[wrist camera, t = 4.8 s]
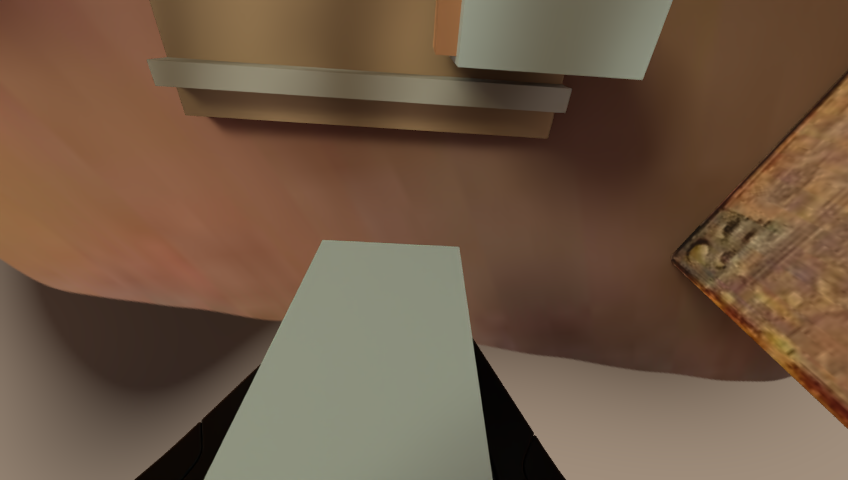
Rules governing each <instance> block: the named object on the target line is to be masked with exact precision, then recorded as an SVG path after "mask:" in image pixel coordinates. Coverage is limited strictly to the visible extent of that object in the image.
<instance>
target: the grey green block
mask: <svg viewBox="0 0 848 480" xmlns="http://www.w3.org/2000/svg"><path fill="white" fill-rule="evenodd" d="M204 480H493V479H492V472H491V465H490V458H489V451H488V444H487V437H486V430H485V423H484V416H483V409H482V402H481V395H480V388H479V381H478V374H477V367H476V361H475V354H474V347H473V340H472V333H471V326H470V319H469V312H468V305H467V298H466V291H465V284H464V277H463V270H462V263H461V256H460V249H459V247H450V246H431V245H412V244H392V243H373V242H354V241H334V240H322V242H321V244H320V246H319V248H318V250H317V252H316V254H315V256H314V259H313V261H312V263H311V265H310V267H309V269H308V271H307V273H306V275H305V277H304V279H303V281H302V283H301V285H300V287H299V289H298V291H297V293H296V295H295V297H294V299H293V301H292V303H291V305H290V307H289V309H288V311H287V313H286V315H285V317H284V319H283V321H282V323H281V325H280V327H279V329H278V331H277V333H276V335H275V337H274V339H273V341H272V343H271V345H270V347H269V349H268V351H267V353H266V355H265V357H264V359H263V361H262V363H261V365H260V367H259V369H258V371H257V373H256V375H255V378H254V380H253V382H252V384H251V386H250V388H249V390H248V392H247V394H246V396H245V398H244V400H243V402H242V404H241V406H240V408H239V410H238V412H237V414H236V416H235V418H234V420H233V422H232V424H231V426H230V428H229V430H228V432H227V434H226V436H225V438H224V440H223V442H222V444H221V446H220V448H219V450H218V452H217V454H216V456H215V458H214V460H213V462H212V464H211V466H210V468H209V470H208V472H207V474H206V476H205V478H204Z"/></svg>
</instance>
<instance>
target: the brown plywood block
mask: <svg viewBox="0 0 848 480" xmlns="http://www.w3.org/2000/svg"><path fill="white" fill-rule="evenodd" d="M671 261H672V263H673V264H674V265H675V266H676V267H677V268H678V269H679V270H680V271H681V272H682V273H683V274H684V275H685V276H686V277H687V278H688V279H690V280H691V281H692V282H693V283H694V284H695V285H696V286H697V287H698V288H699V289H700V290H701V291H702V292H703V293H704V294H705V295H706V296H708V297H709V298H710V299H711V300H712V301H713V302H714V303H715V304H716V305H717V306H718V307H719V308H720V309H721V310H722V311H723V312H724V313H726V314H727V315H728V316H729V317H730V318H731V319H732V320H733V321H734V322H735V323H736V324H737V325H738V326H739V327H740V328H741V329H743V330H744V331H745V332H746V333H747V334H748V335H749V336H750V337H751V338H752V339H753V340H754V341H755V342H756V343H757V344H758V345H759V346H761V347H762V348H763V349H764V350H765V351H766V352H767V353H768V354H769V355H770V356H771V357H772V358H773V359H774V360H775V361H776V362H777V363H779V364H780V365H781V366H782V367H783V368H784V369H785V370H786V371H787V372H788V373H789V374H790V375H791V376H792V377H793V378H794V379H796V380H797V381H798V382H799V383H800V384H801V385H802V386H803V387H804V388H805V389H806V390H807V391H808V392H809V393H810V394H811V395H812V396H814V397H815V398H816V399H817V400H818V401H819V402H820V403H821V404H822V405H823V406H824V407H825V408H826V409H827V410H828V411H829V412H831V413H832V414H833V415H834V416H835V417H836V418H837V419H838V420H839V421H840V422H841V423H842V424H843V425H844V426H845V427H846V428H848V71H847V72H846V73H845V74H844V75H843V76H842V77H841V78H840V79H839V80H838V81H837V82H836V83H835V84H834V85H833V86H832V87H831V88H830V89H829V90H828V92H827V93H826V94H825V95H824V96H823V97H822V98H821V99H820V100H819V101H818V102H817V103H816V104H815V105H814V106H813V107H812V108H811V109H810V110H809V111H808V112H807V114H806V115H805V116H804V117H803V118H802V119H801V120H800V121H799V122H798V123H797V124H796V125H795V126H794V127H793V128H792V129H791V130H790V131H789V132H788V133H787V135H786V136H785V137H784V138H783V139H782V140H781V141H780V142H779V143H778V144H777V145H776V146H775V147H774V148H773V149H772V150H771V151H770V152H769V153H768V154H767V155H766V157H765V158H764V159H763V160H762V161H761V162H760V163H759V164H758V165H757V166H756V167H755V168H754V169H753V170H752V171H751V172H750V173H749V174H748V175H747V176H746V177H745V179H744V180H743V181H742V182H741V183H740V184H739V185H738V186H737V187H736V188H735V189H734V190H733V191H732V192H731V193H730V194H729V195H728V196H727V197H726V198H725V200H724V201H723V202H722V203H721V204H720V205H719V206H718V207H717V208H716V209H715V210H714V211H713V212H712V213H711V214H710V215H709V216H708V217H707V218H706V219H705V220H704V222H703V223H702V224H701V225H700V226H699V227H698V228H697V229H696V230H695V231H694V232H693V233H692V234H691V235H690V236H689V237H688V238H687V239H686V240H685V242H684V243H683V244H682V245H681V246H680V247H679V248H678V249H677V250H676V251H675V252H674V253H673V254H672V255H671Z"/></svg>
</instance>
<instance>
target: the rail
mask: <svg viewBox="0 0 848 480" xmlns="http://www.w3.org/2000/svg"><path fill="white" fill-rule="evenodd" d="M149 1H150V4H151V7H152V10H153V13H154V17H155V20H156V23H157V26H158V29H159V33H160V36H161V39H162V42H163V45H164V49H165V52H166V55H167V57H165V58H157V59H148V60H147V62H148V65H149V68H150V71H151V74H152V77H153V80H154V83H155V86H167V87H177V90H178V93H179V97H180V100H181V103H182V106H183V109H184V113H185V115H190V116H206V117H221V118H237V119H252V120H268V121H283V122H299V123H314V124H329V125H345V126H360V127H376V128H391V129H407V130H422V131H438V132H453V133H469V134H484V135H500V136H515V137H531V138H546V139H548V136H549V132H550V128H551V124H552V121H553V117H554V113H555V112H557V113H566V109H567V106H568V102H569V98H570V95H571V91H572V88H569V87H567V86H564V85H562V82H563V78H564V74H565V75H579V76H594V77H608V78H623V79H637V80H643V77H644V75H645V72H646V69H647V67H648V64H649V62H650V59H651V56H652V54H653V51H654V48H655V46H656V43H657V40H658V38H659V35H660V32H661V30H662V27H663V24H664V22H665V19H666V16H667V14H668V11H669V9H670V6H671V3H672V1H673V0H149Z"/></svg>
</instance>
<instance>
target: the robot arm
mask: <svg viewBox="0 0 848 480" xmlns="http://www.w3.org/2000/svg"><path fill="white" fill-rule="evenodd" d="M472 340H473V347H474V354H475V361H476V367H477V374H478V381H479V388H480V395H481V402H482V409H483V416H484V423H485V430H486V437H487V444H488V451H489V458H490V465H491V472H492V479H493V480H566V479H565V478H564V477H563V475H562V474H561V473H560V471H559V470H558V468H557V467H556V465H555V464H554V462H553V461H552V460H551V458H550V457H549V455H548V454H547V452H546V451H545V449H544V448H543V446H542V445H541V443H540V441H539V440H538V438H537V437H536V436H535V435H534V432H533V431H532V429H531V428H530V426H529V425H528V423H527V421H526V420H525V419H524V417H523V415H522V414H521V412H520V411H519V409H518V408H517V406H516V404H515V403H514V401H513V400H512V398H511V397H510V395H509V394H508V392H507V390H506V389H505V387H504V386H503V385H502V383H501V381H500V380H499V378H498V376H497V375H496V374H495V372H494V370H493V369H492V367H491V366H490V364H489V363H488V361H487V360H486V358H485V357H484V355H483V353H482V352H481V351H480V349H479V347H478V345H477V344H476V342H475V341H474V339H473V338H472ZM260 365H261V364H260ZM260 365H259V366H258V367H257V368H256V369H255V370H254V371H253V372H252V373H251V374H250V375H249V376H247V377H246V379H244V380H243V381H242V382H241V383H240V384H239V385H238V386H237V387H236V388H235V389H234V390H233V391H232V392H231V393H230V394H228V395H227V396H226V397H225V398H224V399H223V400H222V401H221V402H220V403H219V404H218V405H217V406H216V407H215V408H214V409H213V410H212V411H211V412H209V413H208V414H207V415H206V416H205V417H204V418H203V419H202V423H201V422H199V423H198V424H197V425H196V426H195V427H193V428H192V429H191V430H190V431H189V432H188V433H187V434H186V435H185V436H184V437H183V438H182V439H181V440H179V441H178V442H177V443H176V444H175V445H174V446H173V447H172V448H171V449H170V450H169V451H168V452H166V453H165V454H164V455H163V456H162V457H161V458H159V459H158V460H157V461H156V462H155V463H154V464H152V465H151V466H150V467H149V468H148V469H146V470H145V471H144V472H143V473H142V474H141V475H139V476H138V477H137V478H136V479H135V480H204V478H205V476H206V474H207V472H208V470H209V468H210V466H211V464H212V462H213V460H214V458H215V456H216V454H217V452H218V450H219V448H220V446H221V444H222V442H223V440H224V438H225V436H226V434H227V432H228V430H229V428H230V426H231V424H232V422H233V420H234V418H235V416H236V414H237V412H238V410H239V408H240V406H241V404H242V402H243V400H244V398H245V396H246V394H247V392H248V390H249V388H250V386H251V384H252V382H253V380H254V378H255V375H256V373H257V371H258V369H259V367H260ZM533 435H534V436H533Z"/></svg>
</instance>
